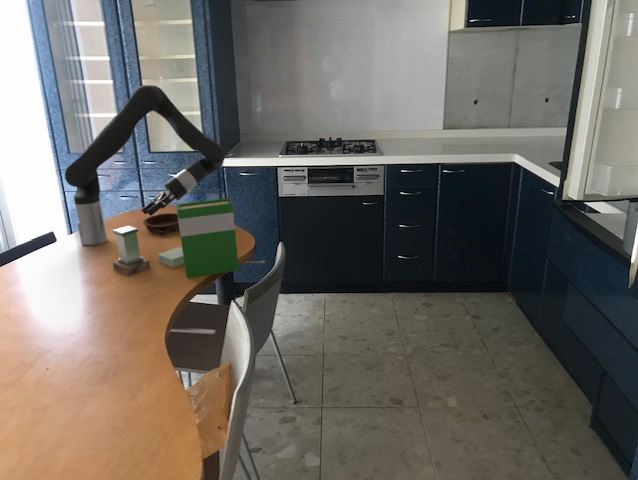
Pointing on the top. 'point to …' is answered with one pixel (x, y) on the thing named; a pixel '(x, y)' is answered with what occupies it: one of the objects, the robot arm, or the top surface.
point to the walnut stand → (131, 267)
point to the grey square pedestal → (128, 245)
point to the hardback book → (208, 237)
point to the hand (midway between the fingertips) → (145, 213)
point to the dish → (162, 223)
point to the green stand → (172, 257)
